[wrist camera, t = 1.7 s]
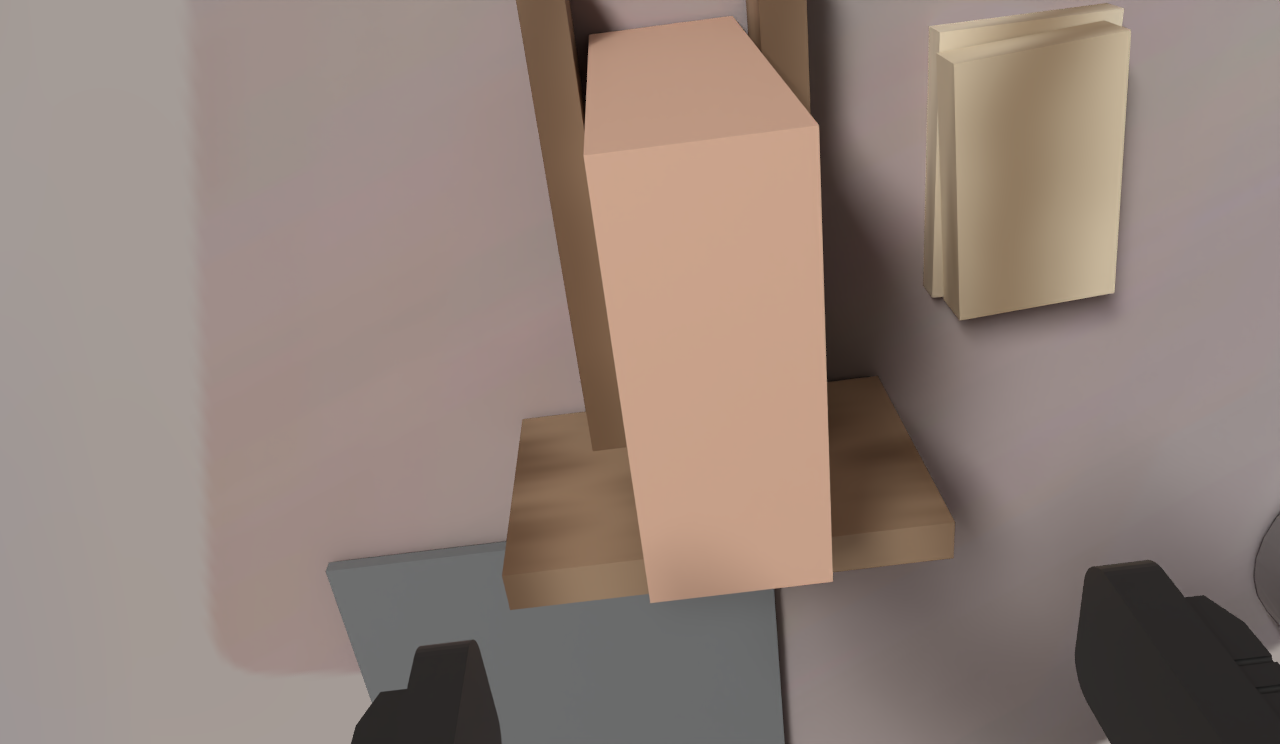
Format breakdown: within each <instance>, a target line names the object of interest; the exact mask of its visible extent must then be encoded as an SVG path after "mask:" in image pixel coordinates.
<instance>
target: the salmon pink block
mask: <svg viewBox="0 0 1280 744" xmlns="http://www.w3.org/2000/svg"><path fill="white" fill-rule="evenodd" d="M583 156H584V163H585V169H586V176H587V183H588V189H589V196H590V203H591V209H592V216H593V223H594V229H595V236H596V243H597V250H598V256H599V263H600V270H601V276H602V283H603V290H604V296H605V303H606V310H607V316H608V323H609V330H610V337H611V343H612V350H613V357H614V363H615V370H616V377H617V383H618V390H619V397H620V403H621V410H622V417H623V423H624V430H625V437H626V444H627V450H628V457H629V464H630V470H631V477H632V484H633V490H634V497H635V504H636V510H637V517H638V524H639V530H640V537H641V544H642V551H643V557H644V564H645V571H646V577H647V584H648V591H649V597H650V603H656V602H664V601H673V600H681V599H690V598H698V597H707V596H715V595H724V594H732V593H741V592H749V591H758V590H766V589H775V588H783V587H792V586H800V585H809V584H817V583H826V582H833V567H832V534H831V501H830V469H829V436H828V404H827V371H826V338H825V306H824V273H823V240H822V208H821V175H820V143H819V125H818V123H817V122H816V121H815V120H814V118H813V117H812V116H811V115H810V113H809V112H808V111H807V110H806V108H805V107H804V106H803V105H802V103H801V102H800V101H799V99H798V98H797V97H796V96H795V94H794V93H793V92H792V91H791V89H790V88H789V87H788V86H787V84H786V83H785V82H784V81H783V79H782V78H781V77H780V75H779V74H778V73H777V72H776V70H775V69H774V68H773V67H772V65H771V64H770V63H769V62H768V60H767V59H766V58H765V57H764V55H763V54H762V53H761V52H760V50H759V49H758V48H757V46H756V45H755V44H754V43H753V41H752V40H751V39H750V38H749V36H748V35H747V34H746V33H745V31H744V30H743V29H742V28H741V26H740V25H739V24H738V22H737V21H736V20H735V19H734V17H733V16H728V17H720V18H712V19H705V20H697V21H690V22H682V23H674V24H667V25H659V26H652V27H644V28H636V29H629V30H621V31H613V32H606V33H598V34H591V35H589V48H588V70H587V91H586V112H585V133H584V155H583Z"/></svg>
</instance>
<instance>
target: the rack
mask: <svg viewBox="0 0 1280 744" xmlns="http://www.w3.org/2000/svg"><path fill="white" fill-rule="evenodd" d="M516 3H517V9H518V15H519V21H520V27H521V33H522V38H523V44H524V50H525V56H526V62H527V68H528V74H529V80H530V85H531V91H532V97H533V103H534V109H535V115H536V121H537V127H538V132H539V138H540V144H541V150H542V156H543V162H544V168H545V174H546V180H547V185H548V191H549V197H550V203H551V209H552V215H553V221H554V227H555V232H556V238H557V244H558V250H559V256H560V262H561V268H562V274H563V279H564V285H565V291H566V297H567V303H568V309H569V315H570V321H571V327H572V332H573V338H574V344H575V350H576V356H577V362H578V368H579V374H580V379H581V385H582V391H583V397H584V403H585V409H586V412H579V413H571V414H562V415H554V416H546V417H538V418H530V419H523V420H522V427H521V435H520V443H519V450H518V458H517V465H516V473H515V480H514V488H513V496H512V503H511V511H510V518H509V526H508V533H507V541H506V549H505V556H504V564H503V571H502V579H503V583H504V587H505V591H506V595H507V599H508V603H509V608H510V610H516V609H524V608H533V607H541V606H550V605H558V604H567V603H575V602H584V601H592V600H601V599H609V598H618V597H626V596H635V595H643V594H649V591H648V584H647V577H646V571H645V564H644V557H643V551H642V544H641V537H640V530H639V524H638V517H637V510H636V504H635V497H634V490H633V484H632V477H631V470H630V464H629V457H628V450H627V444H626V437H625V430H624V423H623V417H622V410H621V403H620V397H619V390H618V383H617V377H616V370H615V363H614V357H613V350H612V343H611V337H610V330H609V323H608V316H607V310H606V303H605V296H604V290H603V283H602V276H601V270H600V263H599V256H598V250H597V243H596V236H595V229H594V223H593V216H592V209H591V203H590V196H589V189H588V183H587V176H586V169H585V163H584V156H583V155H584V133H585V112H586V110H585V104H584V97H583V90H582V83H581V76H580V69H579V62H578V55H577V48H576V42H575V35H574V28H573V21H572V14H571V7H570V0H516ZM746 7H747V23H748V36H749V38H750V39H751V40H752V41H753V43H754V44H755V45H756V46H757V48H758V49H759V50H760V52H761V53H762V54H763V55H764V57H765V58H766V59H767V60H768V62H769V63H770V64H771V65H772V67H773V68H774V69H775V70H776V72H777V73H778V74H779V75H780V77H781V78H782V79H783V81H784V82H785V83H786V84H787V86H788V87H789V88H790V89H791V91H792V92H793V93H794V94H795V96H796V97H797V98H798V99H799V101H800V102H801V103H802V105H803V106H804V107H805V108H806V110H807V111H808V112H809V113H810V85H809V56H808V27H807V0H746ZM810 115H811V114H810ZM827 404H828V436H829V469H830V501H831V534H832V567H833V572H839V571H848V570H856V569H865V568H873V567H882V566H890V565H899V564H907V563H916V562H924V561H933V560H941V559H950V558H953V555H954V533H955V521H954V519H953V518H952V516H951V514H950V512H949V510H948V508H947V506H946V504H945V502H944V501H943V499H942V497H941V495H940V493H939V491H938V489H937V487H936V485H935V483H934V482H933V480H932V478H931V476H930V474H929V472H928V470H927V468H926V466H925V465H924V463H923V461H922V459H921V457H920V455H919V453H918V451H917V449H916V448H915V446H914V444H913V442H912V440H911V438H910V436H909V434H908V432H907V430H906V429H905V427H904V425H903V423H902V421H901V419H900V417H899V415H898V413H897V412H896V410H895V408H894V406H893V404H892V402H891V400H890V398H889V396H888V395H887V393H886V391H885V389H884V387H883V385H882V383H881V381H880V379H879V377H878V376H873V377H865V378H857V379H849V380H841V381H832V382H827Z"/></svg>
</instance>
